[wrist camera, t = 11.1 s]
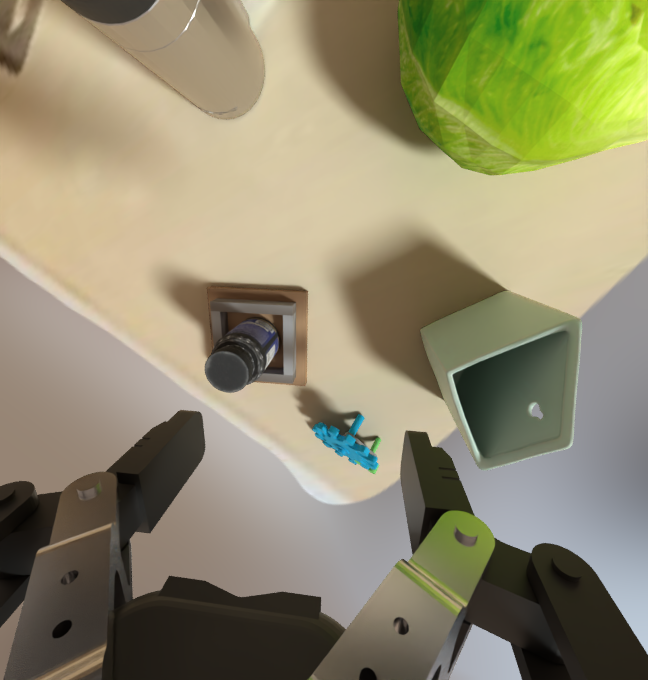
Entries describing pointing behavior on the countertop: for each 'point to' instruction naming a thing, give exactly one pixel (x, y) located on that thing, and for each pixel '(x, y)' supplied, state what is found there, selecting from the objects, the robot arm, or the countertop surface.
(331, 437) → the gear
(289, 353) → the framed wooden base
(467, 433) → the planter
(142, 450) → the robot arm
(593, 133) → the lettuce
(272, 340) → the pill bottle
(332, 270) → the countertop surface
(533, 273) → the countertop surface
